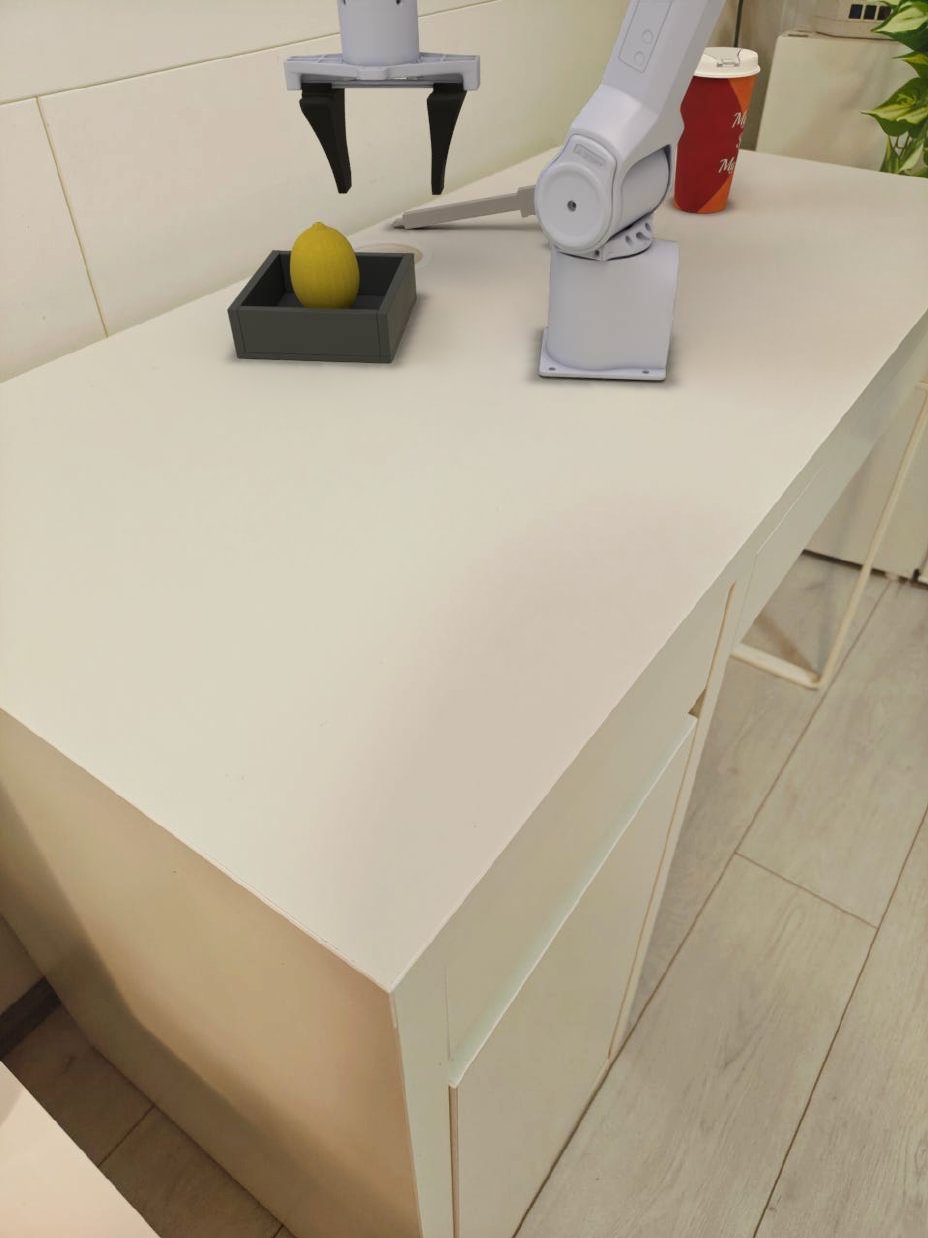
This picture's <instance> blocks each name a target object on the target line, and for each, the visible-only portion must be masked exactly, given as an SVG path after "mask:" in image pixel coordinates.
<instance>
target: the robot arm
mask: <svg viewBox="0 0 928 1238" xmlns="http://www.w3.org/2000/svg"><path fill="white" fill-rule="evenodd" d="M726 2H727V0H630V1H629V3H628V7H627V9H626V12H625V15H624V17H623V20H622V23H621V27H620V29H619V32H618V35H617V37H616V40H615V43H614V45H613V48H612V50H611V54H610V56H609V59H608V62H607V65H606V68H605V70H604V73H603V76H602V78H601V82H600V84H599V86H597V87H598V88H597V89H596V90H595V92H594V93H593V94H592V96H591V97H590V98H589V101H588V100H587V101H588V102H586V103H585V105H584V106H583V108H582V109H581V110H580V111H579V112H578V114H577V116H576V117H575V118H574V119H573V120H572V123H571V124H570V125H569V128H568V131H567V133H566V136H565V139H564V141H563V144H562V146H561V148H560V149H559V151H558V152H557V153H556V154H555V156H553V157H552V158H551V159H550V160H549V161H548V162H547V163H546V164H544V165H545V166H544V167H543V168H542V170H541V171H540V173H539V174H538V177H537V180H536V183H535V185H536V186H535V192H534V205H535V212H536V215H535V216H536V219H537V222H538V224H539V226H540V228H541V230H542V232H543V233H544V235H545V237H546V238H547V239H548V240H549V250H550V257H549V258H550V261H549V262H550V263H549V284H548V309H547V326H546V327H544V328H543V335H542V341H541V349H540V350H541V351H540V358H539V367H538V374H539V375H540V376H542V377H552V378H555V377H556V378H579V379H580V378H581V379H584V378H585V379H608V380H609V379H613V380H636V381H638V380H640V381H663V380H665V379H666V376H667V370H666V369H667V362H668V355H669V348H670V344H671V342H672V339H673V332H674V314H675V306H676V301H677V300H676V299H677V291H678V282H679V271H680V269H679V268H680V245H679V242H677V241H675V240H665V239H660V238H655V237H654V225H653V222H654V213H655V211H657V210H658V209H660V208H661V206H662V205H663V204H664V203H665V202H666V200H667V198H668V197H669V195H670V193H671V191H672V188H673V184H674V181H675V158H676V153H677V144H678V142H679V139H680V137H681V135H682V133H683V130H684V122H683V119H682V116H681V112H680V105H681V103H682V100H683V98H684V96H685V94H686V91H687V89H688V87H689V84H690V82H691V80H692V77H693V75H694V73H695V71H696V68H697V66H698V64H699V61H700V59H701V57H702V54H703V52H704V50H705V48H707V46H708V43H709V42H710V41H709V40H710V38H711V36H712V34H713V32H714V29H715V27H716V24H717V22H718V20H719V17H720V15H721V14H722V10H723V9H724V6H725V4H726ZM336 4H337V13H338V23H339V34H340V35H339V36H340V44H341V52H338V53H325V54H324V53H323V54H322V53H321V54H310V55H309V54H308V55H290V56H288V57H287V58H286V59H284V60H283V69H284V77H285V86H286V91H301V93H300V95H301V98H300V99H299V100H298V105H299V108H300V110H301V113H302V115H303V116H304V118H305V119H306V121H307V122H308V124H309V125H310V127H311V129H312V131H313V132H314V134H315V136H316V138H317V139H318V140H317V141H318V142H319V143H320V146H321V147H322V150H323V152H324V154H325V157H326V159H327V161H328V164H329V168H330V170H331V173H332V175H333V179H334V182H335V186H336V189H337V193H338V194H339V195H342V194H343V195H346V194H348V193H349V191H350V190H351V188H352V186H353V181H352V167H351V161H350V154H349V147H348V139H347V125H346V89H432V91H431V93H429V94H428V96H427V98H426V111H427V118H428V126H429V138H430V151H431V156H430V157H431V162H430V163H431V164H430V186H431V195H432V196H441V195H442V194H443V191H444V189H445V176H446V167H447V161H448V156H449V151H450V147H451V143H452V140H453V135H454V132H455V127H456V125H457V123H458V122H457V121H458V119H459V115H460V113H461V109H462V108H463V107H462V106H463V104H464V101H465V99H466V96H467V93H468V92H469V91H471V92H472V91H478V90H479V88H480V86H481V55H480V54H456V53H455V54H453V53H441V52H440V53H439V52H427V51H420V35H419V31H420V30H419V15H418V0H336Z"/></svg>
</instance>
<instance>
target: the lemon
mask: <svg viewBox="0 0 928 1238" xmlns="http://www.w3.org/2000/svg"><path fill="white" fill-rule="evenodd" d="M290 251H291V260H290V275H291V281H292V285H293V289H294V291H295V294H296V296H297V298H298V299H299V301H300V302H301V304H302V305H303V306H304V307H305V308H332V309H349V308H350V307H351V305H352V304H353V303H354V301H355V299H356V297H357V293H358V289H359V268H358V263H357V259H356V256H355V253H354V252H355V251H354V248H353V246H352V245H351V243H350V241H349V240H348V238H347V237H346V236H345V235H344V234H343V233H342V232H340V231H339V230H338V229H336V228H334V227H331V226H328V225H326V224H324V223H323V222H322V221H316V222H314V223H313V224H312V226H310V227H309V228H306V229H305V230H304V231H302V232H301V233H300V234H299V236H297V238H296V239H295V241H294V242H293V245H292V248H291V250H290Z"/></svg>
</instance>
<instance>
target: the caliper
mask: <svg viewBox="0 0 928 1238" xmlns="http://www.w3.org/2000/svg"><path fill="white" fill-rule="evenodd" d="M535 186H536V184H532V185H531V184H529V185H526V186H521V187H518V188H517V191H516V192H513V193H512V192H511V193H506V194H500V195H494V196H488V197H482V198H477V199H471V200H466V201H460V202H453V203H448V204H442V205H438V206H431V207H425V208H419V209H414V210H408V211H404V212H403V213H402V215H401V217H398V218H395V219H394V220H393V221H392V222H391V226H392V227H398V226H404V229H405V230H410V229H415V228H416V229H417V228H422V227H428V226H433V225H439V224H445V223H450V222H455V221H461V220H468V219H474V218H480V217H485V216H491V215H497V214H499V215H500V214H503V213H510V212H517V211H520V215H521V218H528V217H530V216H536V212H535V205H534V192H535Z"/></svg>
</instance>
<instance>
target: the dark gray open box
mask: <svg viewBox="0 0 928 1238" xmlns="http://www.w3.org/2000/svg"><path fill="white" fill-rule="evenodd" d="M291 251H292V250H279V249H272V250H271V251H270V253H269V254H268V256H267V257H266V258H265V260H264V261H263V262H262V263H261V265H260V266H259V268H258V269H256V271H255V272H254V274H253V275H252V277H251V278H250V279H249V280H248V282H247V283H246V285H245V286H244V287H243V288H242V290H241V291H240V292H239V293H238V295H237V296H236V298H235V299H234V300H233V301H232V303H231V304H230V305H229V307H228V308H227V310H226V311H227V312H226V313H227V317H228V321H229V326H230V329H231V334H232V339H233V345H234V349H235V354H236V358H237V359H238V358H239V359H261V360H289V361H291V360H292V361H293V360H294V361H317V362H318V361H321V362H346V363H347V362H352V363H375V364H376V363H378V364H380V363H381V364H382V363H383V364H391V363H392V362H393V360H394V356H395V354H396V351H397V349H398V347H399V344H400V341H401V339H402V337H403V334H404V331H405V329H406V326H407V324H408V321H409V319H410V316H411V314H412V311H413V309H414V306H415V304H416V301H417V298H418V297H417V295H418V294H417V280H416V264H415V263H416V262H415V253H414V252H371V251H354V253H355V256H356V259H357V263H358V268H359V289H358V293H357V297H356V299H355V301H354V303H353V304H352V305H351V307H350V308H349V309H332V308H305V307H304V306H303V305H302V304H301V302H300V301H299V299H298V298H297V296H296V294H295V291H294V289H293V285H292V281H291V275H290V260H291Z"/></svg>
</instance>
